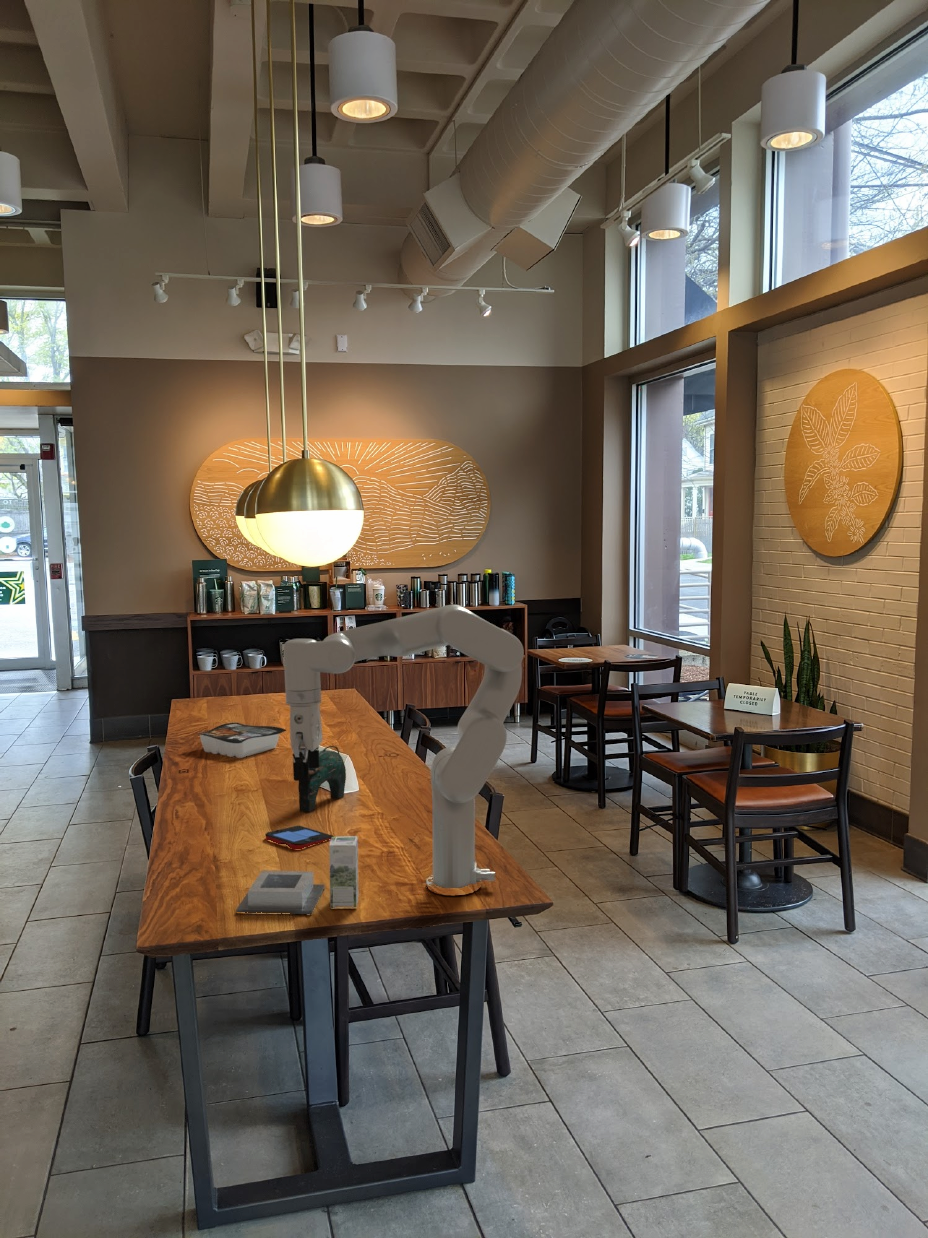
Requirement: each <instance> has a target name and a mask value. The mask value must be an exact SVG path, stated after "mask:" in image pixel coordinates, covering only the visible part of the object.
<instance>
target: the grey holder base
mask: <svg viewBox="0 0 928 1238" xmlns="http://www.w3.org/2000/svg"><path fill="white" fill-rule="evenodd" d="M252 883H253V884H252V885H251V886H250V887H249V889H248V890H247V893H246V895H244V898H243V899H242V900H241V901H240V903H239V905H238V906H237V908H236V909H235V913H236V912H245V913H247V912H248V913H256V912H257V913H261V912H262V913H281V914H282V913H290V914H312V912H313V910H314V908H315V909H316V907H315V905H316V904H317V905H318V903H319V901H320V899H319V897H320V896H321V897H322V895H323V893H322V891H323V889H324V890H325V884H317V883H316V884H314V871H307V870H306V871H305V870H304V871H303V870H300V871H299V870H292V871H291V870H290V871H289V870H261V871H260V873H259V874H258V875H257V877H256V878H255V880H254V882H252ZM323 892H324V891H323ZM321 894H322V895H321ZM321 897H320V898H321ZM318 900H319V901H318ZM317 902H318V903H317ZM317 905H316V906H317ZM314 911H315V910H314ZM313 913H314V912H313ZM312 915H313V914H312Z"/></svg>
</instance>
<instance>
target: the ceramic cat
mask: <svg viewBox="0 0 928 1238" xmlns="http://www.w3.org/2000/svg"><path fill="white" fill-rule="evenodd" d="M329 748H334V749H336V751H335V750H328V749H329ZM302 753H303V756H304V752H302ZM319 764H320V766H319V768H309V780H308V781H298V801H299V802H298V803H299V804H298V805H299V806H298V807H299V811H300V812H302V811H303V813H307V814H309V813H312V812H314V811H315V809H316V802H317V797H318V794H319V790H320V787H321V785H323V784H324V783H325V782H327V783H328V786H329V791H330V798H331V799H333V800H334V799H337V800H339V799H340V798H341V799H342V798H344V796H345V788H346V780H347V772H346V771H347V769H346V765H345V764H346V763H345V762H344V758H343V757H342V756H341V754H340V749H339V748H338V747H337V746H336V745H329V746H326V747H325V748H324V749H322V750H319Z"/></svg>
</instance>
